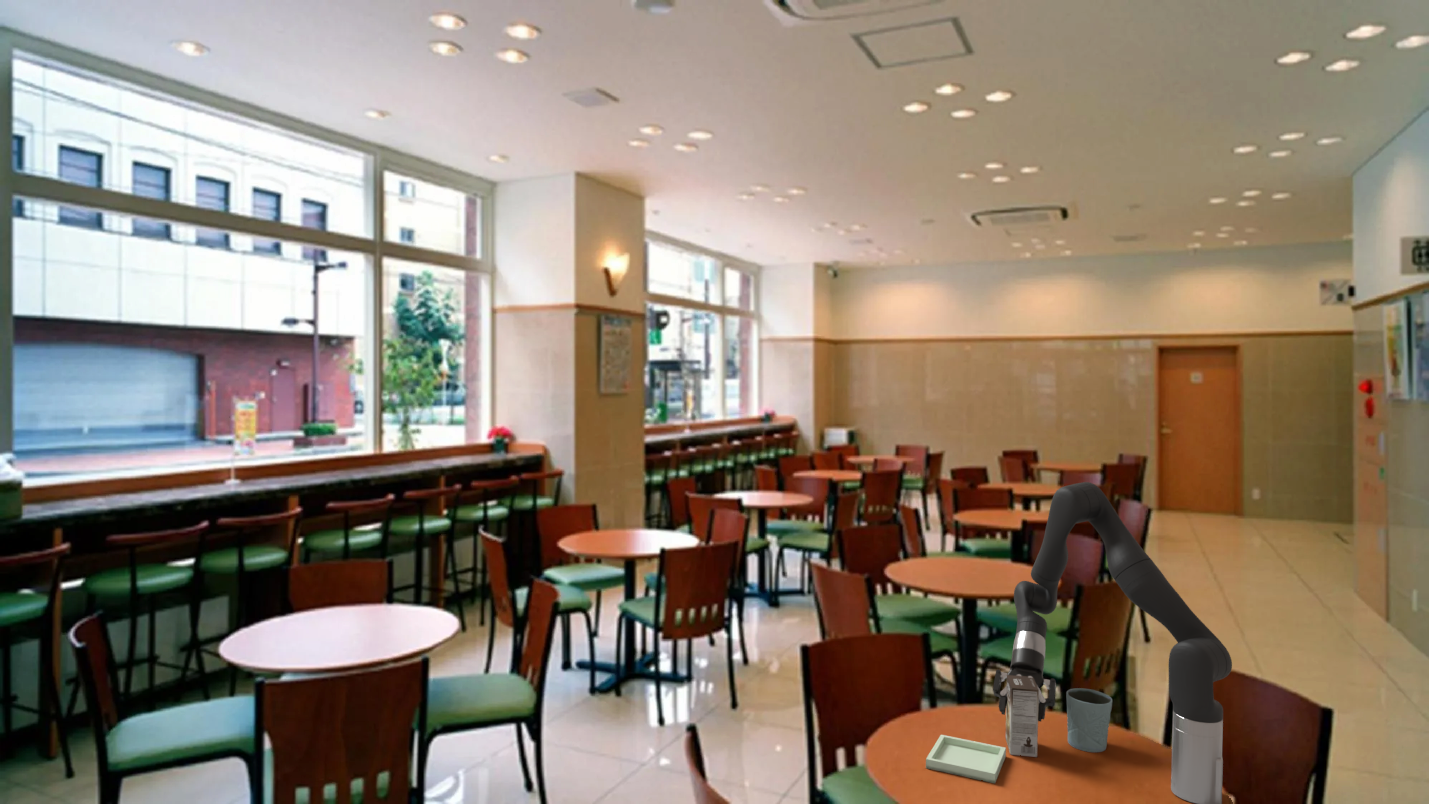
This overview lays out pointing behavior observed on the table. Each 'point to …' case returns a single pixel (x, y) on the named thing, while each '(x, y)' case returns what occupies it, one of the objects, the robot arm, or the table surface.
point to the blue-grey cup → (1088, 719)
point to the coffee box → (1022, 715)
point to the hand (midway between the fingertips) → (1021, 716)
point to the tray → (966, 758)
